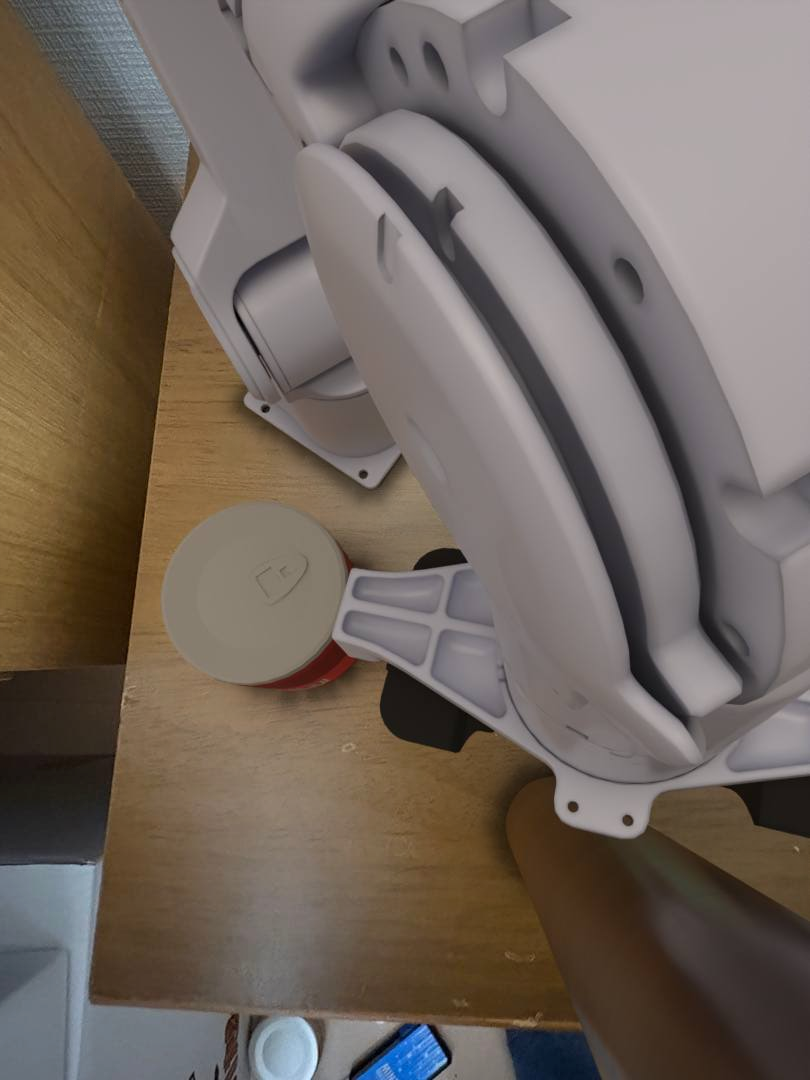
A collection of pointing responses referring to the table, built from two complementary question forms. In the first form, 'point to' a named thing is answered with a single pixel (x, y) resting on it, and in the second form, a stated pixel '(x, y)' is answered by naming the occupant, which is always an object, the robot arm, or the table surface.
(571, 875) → the pepper mill
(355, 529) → the table surface
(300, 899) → the table surface
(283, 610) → the canned food
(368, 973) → the table surface
